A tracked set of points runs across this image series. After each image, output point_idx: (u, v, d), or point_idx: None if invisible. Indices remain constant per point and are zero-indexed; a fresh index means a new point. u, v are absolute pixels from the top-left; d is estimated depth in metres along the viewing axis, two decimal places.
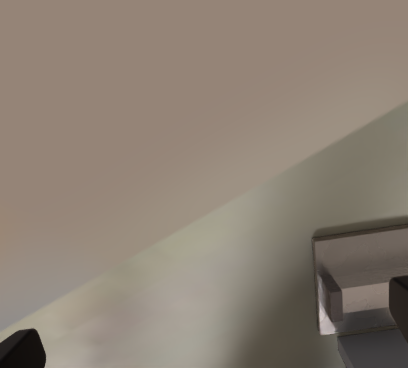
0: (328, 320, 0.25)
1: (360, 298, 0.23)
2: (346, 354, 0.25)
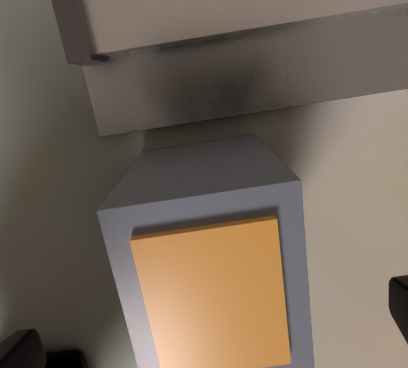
0: (108, 104, 0.14)
1: (128, 15, 0.11)
2: (135, 161, 0.13)
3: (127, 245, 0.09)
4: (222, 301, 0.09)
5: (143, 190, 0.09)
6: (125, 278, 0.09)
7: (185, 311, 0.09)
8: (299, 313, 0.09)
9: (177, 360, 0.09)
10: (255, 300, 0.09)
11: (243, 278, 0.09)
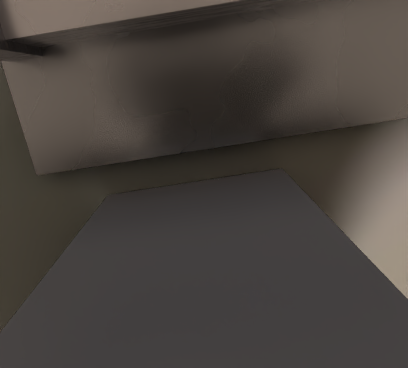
0: (48, 124, 0.08)
1: None
2: (89, 219, 0.08)
3: None
4: None
5: (64, 341, 0.04)
6: None
7: None
8: None
9: None
10: None
11: None
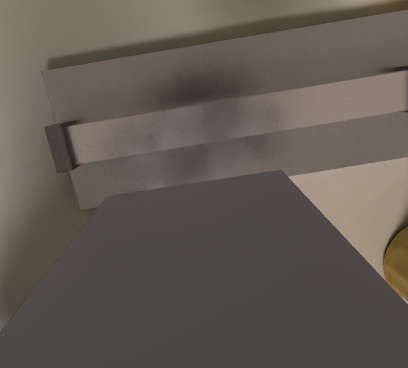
0: (86, 188, 0.20)
1: (96, 141, 0.18)
2: (87, 221, 0.08)
3: None
4: None
5: (61, 344, 0.04)
6: None
7: None
8: None
9: None
10: None
11: None
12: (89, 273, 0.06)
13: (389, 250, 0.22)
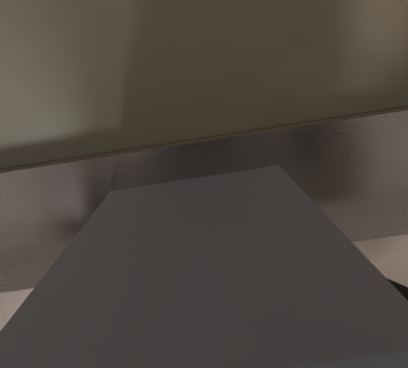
0: None
1: None
2: (93, 213, 0.08)
3: None
4: None
5: (73, 320, 0.04)
6: None
7: None
8: None
9: None
10: None
11: None
12: (96, 260, 0.06)
13: None
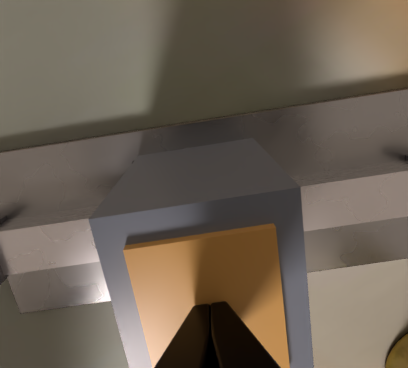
0: (26, 290, 0.16)
1: (29, 249, 0.14)
2: (131, 166, 0.13)
3: (121, 254, 0.08)
4: None
5: (137, 196, 0.09)
6: (119, 288, 0.08)
7: (181, 322, 0.09)
8: (299, 324, 0.09)
9: None
10: (253, 311, 0.08)
11: (241, 288, 0.08)
12: (141, 180, 0.10)
13: (392, 356, 0.18)
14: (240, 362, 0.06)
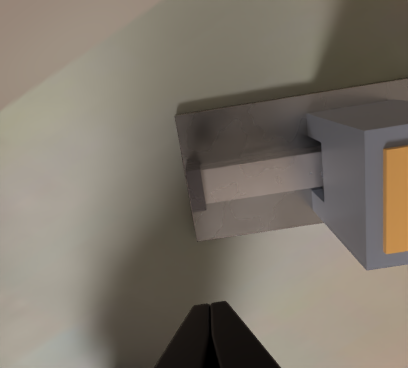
0: (204, 222, 0.21)
1: (228, 183, 0.19)
2: (316, 117, 0.18)
3: (378, 155, 0.13)
4: None
5: (375, 123, 0.14)
6: (372, 179, 0.13)
7: None
8: None
9: (398, 238, 0.14)
10: None
11: None
12: (353, 119, 0.15)
13: None
14: (240, 362, 0.06)
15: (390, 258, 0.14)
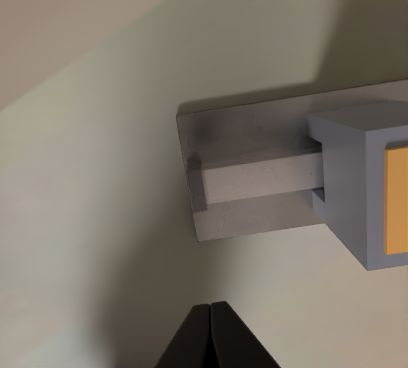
0: (205, 222, 0.21)
1: (229, 183, 0.19)
2: (317, 117, 0.18)
3: (379, 156, 0.13)
4: None
5: (376, 123, 0.14)
6: (373, 179, 0.13)
7: None
8: None
9: (399, 239, 0.14)
10: None
11: None
12: (354, 120, 0.15)
13: None
14: (240, 362, 0.06)
15: (391, 259, 0.14)
